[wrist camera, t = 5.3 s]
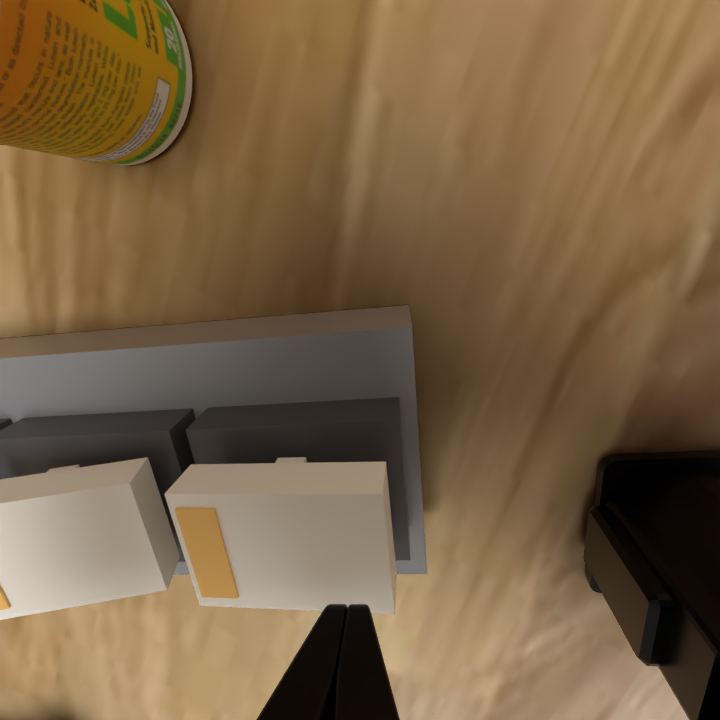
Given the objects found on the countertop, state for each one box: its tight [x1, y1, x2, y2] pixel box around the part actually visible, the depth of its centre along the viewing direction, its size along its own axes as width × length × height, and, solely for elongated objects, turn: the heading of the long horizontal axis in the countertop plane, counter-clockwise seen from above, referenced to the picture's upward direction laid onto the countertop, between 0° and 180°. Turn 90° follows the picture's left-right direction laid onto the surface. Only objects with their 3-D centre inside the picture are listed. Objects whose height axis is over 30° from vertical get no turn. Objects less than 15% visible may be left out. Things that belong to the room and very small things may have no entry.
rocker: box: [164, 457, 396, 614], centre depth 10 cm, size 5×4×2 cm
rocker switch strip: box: [0, 305, 427, 575], centre depth 14 cm, size 20×9×4 cm, turn 96°
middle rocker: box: [0, 457, 180, 620], centre depth 11 cm, size 5×4×2 cm
